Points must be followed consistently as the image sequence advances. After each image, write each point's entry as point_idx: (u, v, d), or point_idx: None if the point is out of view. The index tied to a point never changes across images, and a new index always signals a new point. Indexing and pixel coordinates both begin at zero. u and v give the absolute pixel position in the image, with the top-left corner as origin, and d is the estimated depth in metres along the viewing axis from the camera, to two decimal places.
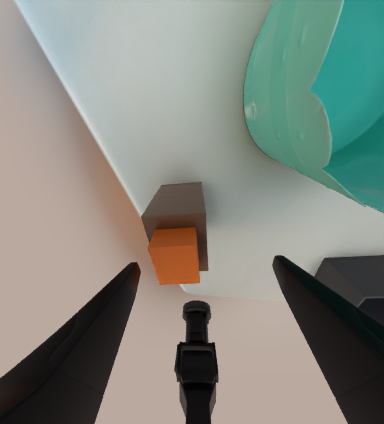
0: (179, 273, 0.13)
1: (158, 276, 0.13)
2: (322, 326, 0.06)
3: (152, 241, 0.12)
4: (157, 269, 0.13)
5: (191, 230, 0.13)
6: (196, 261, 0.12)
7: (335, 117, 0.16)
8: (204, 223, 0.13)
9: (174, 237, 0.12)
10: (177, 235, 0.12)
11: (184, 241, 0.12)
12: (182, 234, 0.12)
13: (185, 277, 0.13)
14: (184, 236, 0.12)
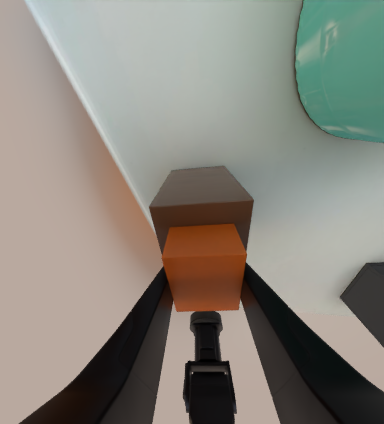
0: (209, 297, 0.08)
1: (175, 301, 0.08)
2: (261, 327, 0.06)
3: (169, 245, 0.07)
4: (175, 291, 0.08)
5: (229, 227, 0.08)
6: (241, 279, 0.07)
7: None
8: (249, 217, 0.08)
9: (204, 239, 0.07)
10: (208, 236, 0.08)
11: (225, 247, 0.07)
12: (216, 234, 0.08)
13: (218, 302, 0.08)
14: (221, 239, 0.07)
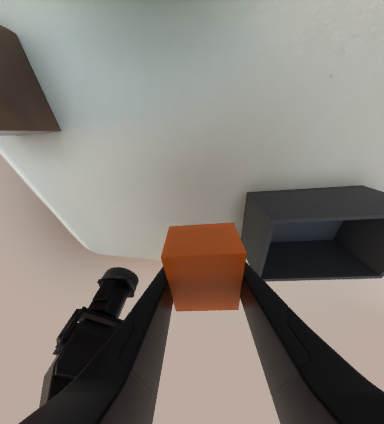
0: (209, 296, 0.08)
1: (175, 300, 0.08)
2: (261, 327, 0.06)
3: (168, 245, 0.07)
4: (174, 290, 0.08)
5: (229, 227, 0.08)
6: (241, 279, 0.07)
7: None
8: None
9: (204, 239, 0.07)
10: (208, 235, 0.08)
11: (224, 246, 0.07)
12: (216, 234, 0.08)
13: (218, 302, 0.08)
14: (221, 238, 0.07)
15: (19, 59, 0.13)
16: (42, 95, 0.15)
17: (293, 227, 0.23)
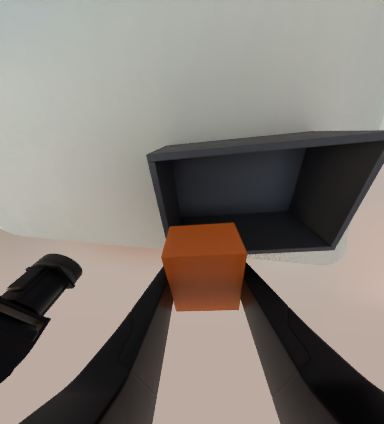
0: (209, 296, 0.08)
1: (175, 300, 0.08)
2: (261, 327, 0.06)
3: (169, 244, 0.07)
4: (175, 290, 0.08)
5: (229, 227, 0.08)
6: (241, 279, 0.07)
7: None
8: None
9: (204, 239, 0.07)
10: (208, 235, 0.08)
11: (225, 246, 0.07)
12: (216, 234, 0.08)
13: (218, 302, 0.08)
14: (221, 238, 0.07)
15: None
16: None
17: (235, 194, 0.18)
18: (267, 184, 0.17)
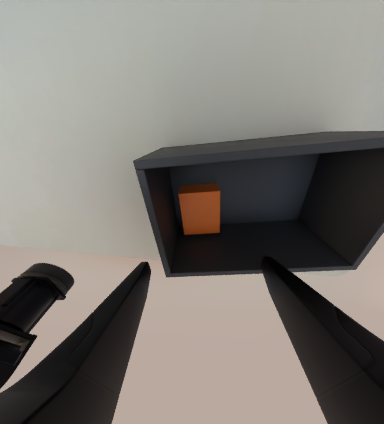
0: (203, 222, 0.15)
1: (184, 225, 0.15)
2: (304, 326, 0.06)
3: (181, 190, 0.14)
4: (184, 217, 0.15)
5: (213, 184, 0.15)
6: (219, 208, 0.14)
7: None
8: None
9: (199, 188, 0.14)
10: (202, 187, 0.14)
11: (210, 189, 0.13)
12: (206, 186, 0.14)
13: (207, 226, 0.15)
14: (208, 187, 0.14)
15: None
16: None
17: (239, 202, 0.16)
18: (275, 191, 0.16)
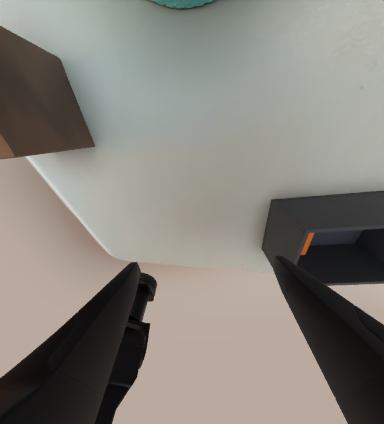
0: None
1: None
2: (322, 326, 0.06)
3: None
4: None
5: None
6: (310, 240, 0.21)
7: None
8: None
9: None
10: None
11: None
12: None
13: None
14: None
15: (63, 82, 0.14)
16: (80, 114, 0.16)
17: None
18: None
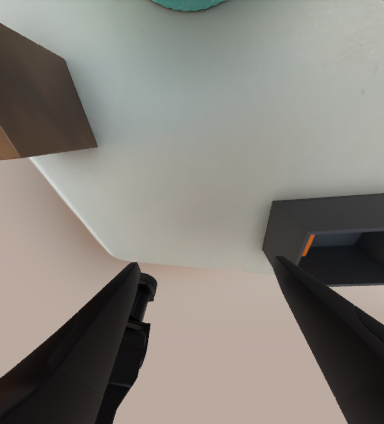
0: None
1: None
2: (322, 326, 0.06)
3: None
4: None
5: None
6: (311, 241, 0.21)
7: None
8: None
9: None
10: None
11: None
12: None
13: None
14: None
15: (67, 83, 0.14)
16: (83, 115, 0.16)
17: None
18: None
